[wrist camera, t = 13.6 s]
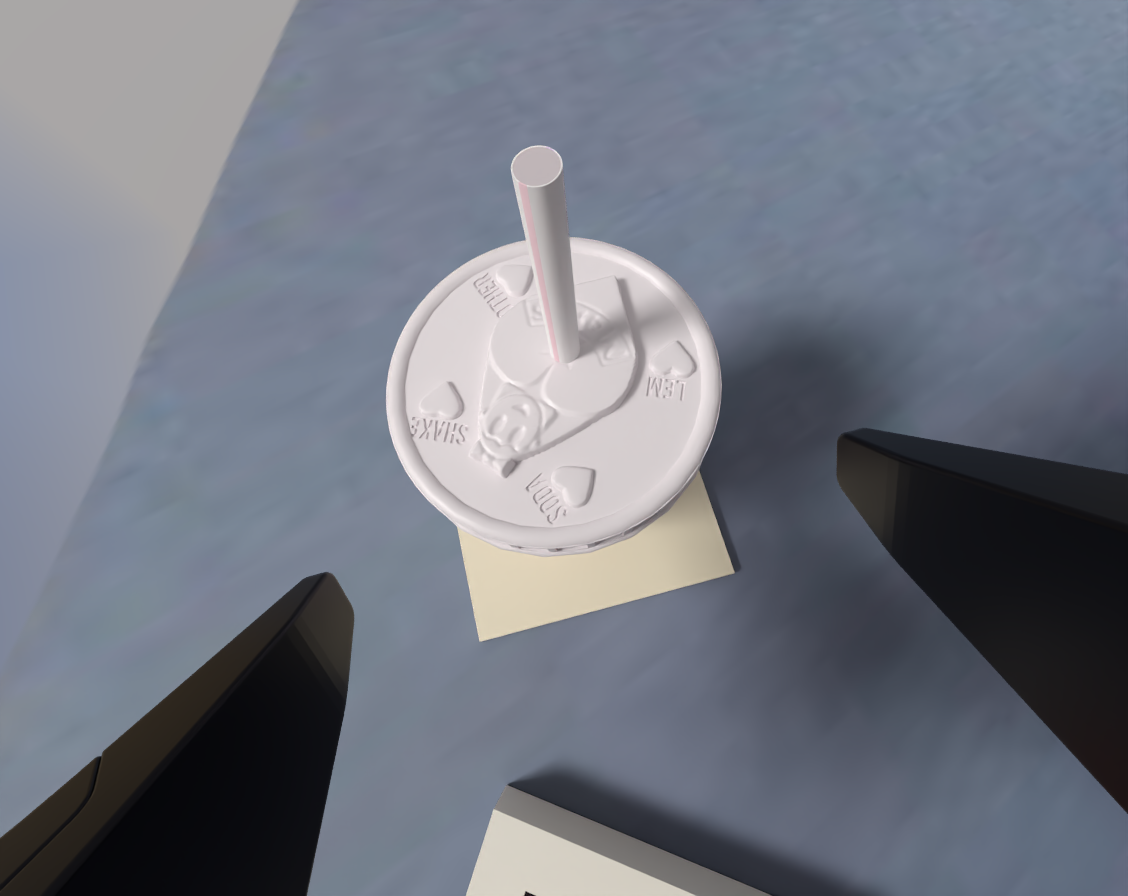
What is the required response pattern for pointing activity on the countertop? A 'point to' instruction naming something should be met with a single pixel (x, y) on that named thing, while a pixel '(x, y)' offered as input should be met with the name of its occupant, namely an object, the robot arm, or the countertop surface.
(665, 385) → the smoothie
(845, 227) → the countertop surface
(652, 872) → the dome base
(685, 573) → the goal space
